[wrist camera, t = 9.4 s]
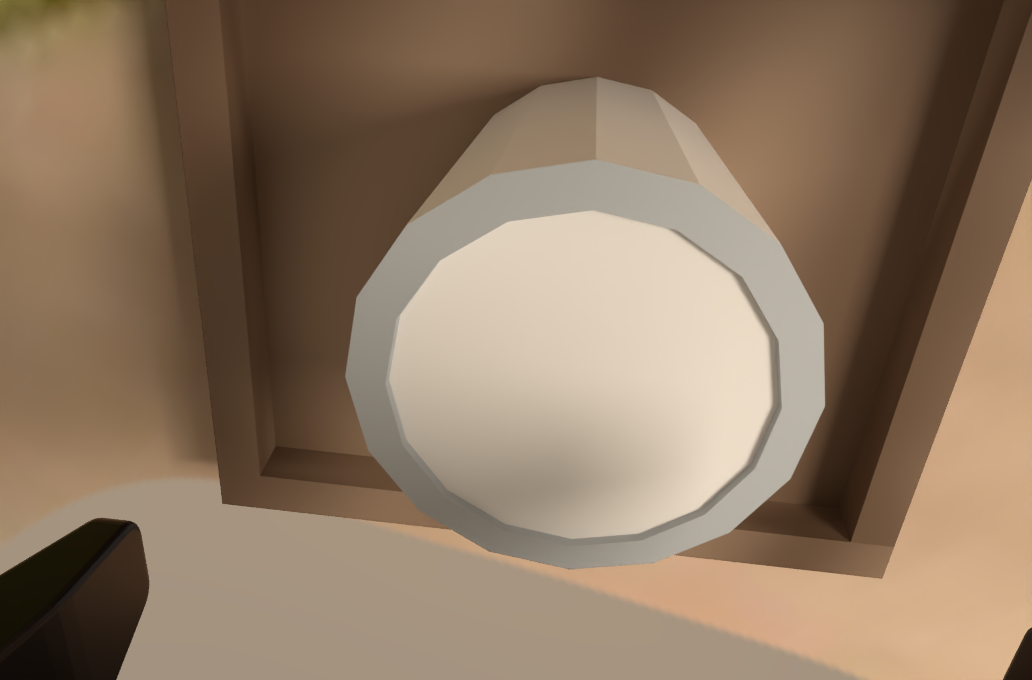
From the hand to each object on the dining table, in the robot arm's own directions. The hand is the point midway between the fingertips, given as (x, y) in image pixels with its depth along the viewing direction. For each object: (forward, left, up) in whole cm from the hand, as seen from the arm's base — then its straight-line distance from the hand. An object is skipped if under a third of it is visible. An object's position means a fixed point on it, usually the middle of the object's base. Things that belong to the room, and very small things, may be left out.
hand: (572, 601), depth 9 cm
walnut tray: (0, 0, -12) cm, 12 cm away
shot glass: (0, 0, -11) cm, 11 cm away
